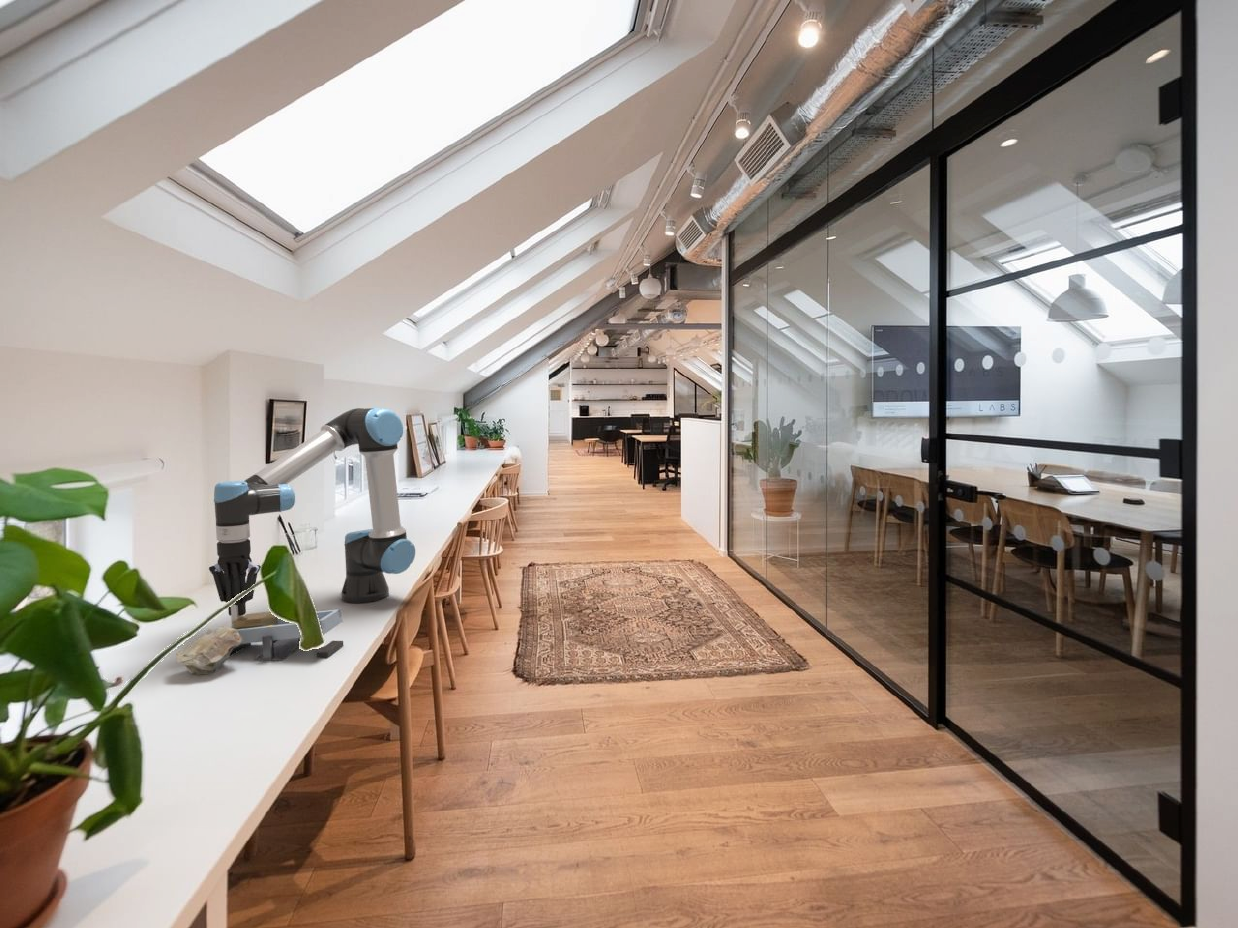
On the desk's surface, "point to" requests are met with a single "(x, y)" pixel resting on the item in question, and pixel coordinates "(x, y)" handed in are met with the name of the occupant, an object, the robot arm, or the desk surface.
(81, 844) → the desk surface
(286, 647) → the fulcrum
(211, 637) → the stone
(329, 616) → the beam
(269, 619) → the brown wooden block
